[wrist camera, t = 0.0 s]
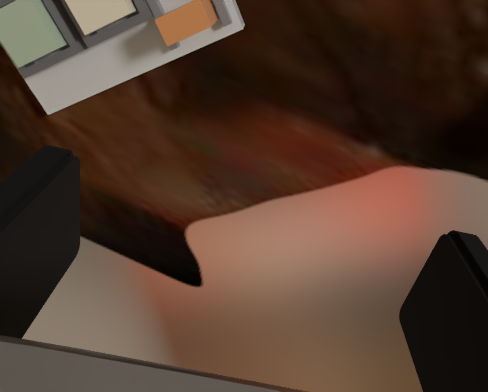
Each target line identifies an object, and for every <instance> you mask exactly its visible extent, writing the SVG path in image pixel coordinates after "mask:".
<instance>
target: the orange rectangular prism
mask: <svg viewBox="0 0 488 392" xmlns="http://www.w3.org/2000/svg"><path fill="white" fill-rule="evenodd" d="M218 19H219V18H218V16H217V14H216V11H215V9H214V6H213V4H212V2H211V0H193V1H191V2H189V3H187V4H185V5H183V6H181V7H178V8H176V9H174V10H172V11H170V12H168V13H166V14H164V15H162V16H160V17H159V18H157V19H155V22H156V24H157V26H158V29H159V31H160V33H161V35H162V37H163V39H164V41H165V43H166V45H167V47H168V46H170V45H172V44H174V43H176V42H179V41H181V40H183V39H185V38H188V37H190V36H192V35H194V34H196V33H199V32H201V31H203V30H205V29H207V28H210V27H212V26H213V24H214V23H215V22H216V21H217V20H218Z"/></svg>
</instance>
